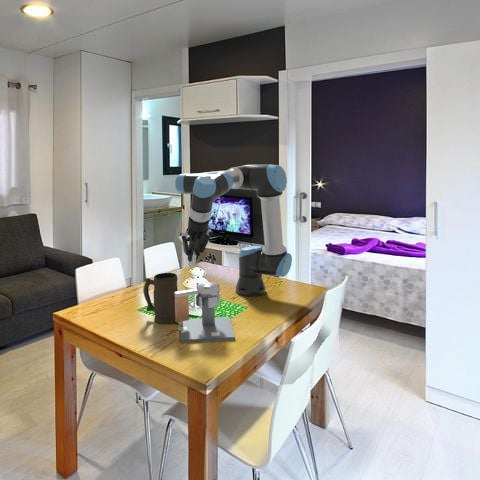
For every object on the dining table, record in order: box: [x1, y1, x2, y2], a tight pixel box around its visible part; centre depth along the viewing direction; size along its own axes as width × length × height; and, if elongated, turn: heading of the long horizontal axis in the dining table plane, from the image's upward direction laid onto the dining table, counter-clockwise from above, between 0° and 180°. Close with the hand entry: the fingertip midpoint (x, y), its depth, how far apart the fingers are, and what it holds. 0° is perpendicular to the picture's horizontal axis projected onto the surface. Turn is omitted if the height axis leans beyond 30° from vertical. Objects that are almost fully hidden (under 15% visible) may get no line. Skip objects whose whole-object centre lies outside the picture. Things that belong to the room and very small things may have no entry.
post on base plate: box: [178, 298, 236, 344], centre depth 161 cm, size 21×20×13 cm
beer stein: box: [143, 272, 179, 325], centre depth 172 cm, size 15×10×20 cm
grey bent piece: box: [175, 281, 221, 323], centre depth 162 cm, size 18×9×13 cm, turn 117°
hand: (191, 266), depth 164 cm, fingers closed
